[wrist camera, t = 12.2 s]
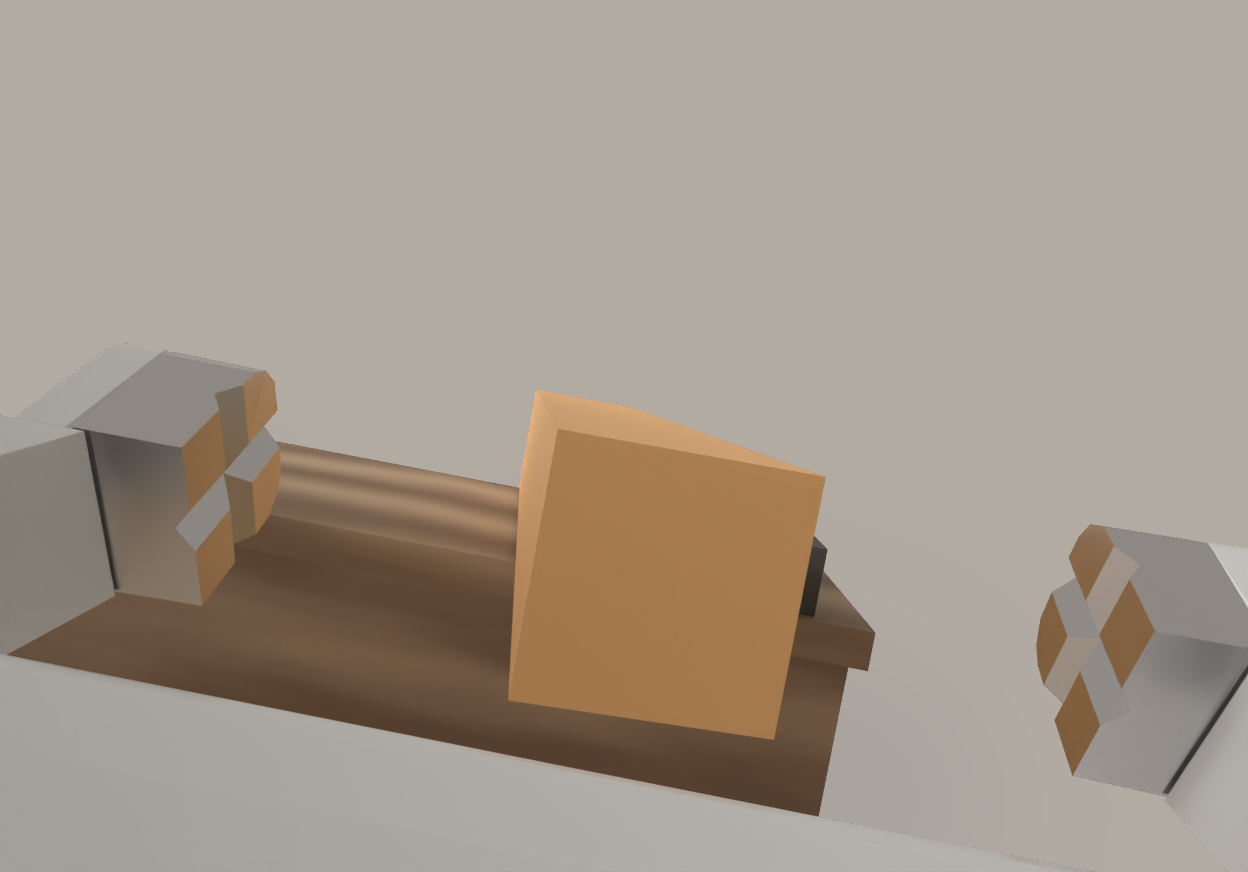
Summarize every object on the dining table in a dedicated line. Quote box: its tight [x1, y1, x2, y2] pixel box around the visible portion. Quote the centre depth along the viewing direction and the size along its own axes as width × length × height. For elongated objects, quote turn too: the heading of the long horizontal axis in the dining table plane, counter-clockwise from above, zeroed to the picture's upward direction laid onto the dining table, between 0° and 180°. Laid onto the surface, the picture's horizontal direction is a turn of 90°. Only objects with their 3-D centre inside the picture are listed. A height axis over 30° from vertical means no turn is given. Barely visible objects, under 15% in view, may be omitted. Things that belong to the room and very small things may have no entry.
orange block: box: [508, 390, 825, 740], centre depth 28 cm, size 28×4×4 cm, turn 6°
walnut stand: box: [7, 441, 875, 816], centre depth 34 cm, size 16×23×28 cm
